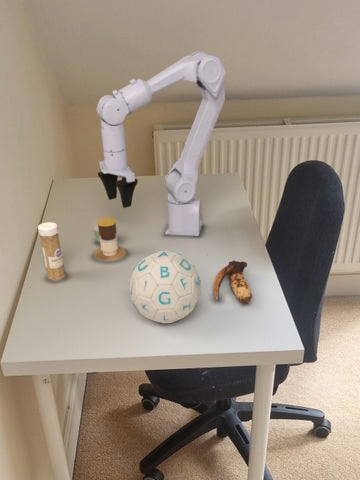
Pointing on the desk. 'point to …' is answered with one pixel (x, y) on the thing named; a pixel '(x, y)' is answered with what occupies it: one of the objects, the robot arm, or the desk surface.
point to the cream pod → (109, 246)
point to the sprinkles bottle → (51, 250)
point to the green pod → (97, 233)
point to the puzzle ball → (165, 287)
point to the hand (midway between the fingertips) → (119, 202)
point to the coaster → (120, 253)
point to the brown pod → (107, 228)
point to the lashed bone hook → (234, 281)
